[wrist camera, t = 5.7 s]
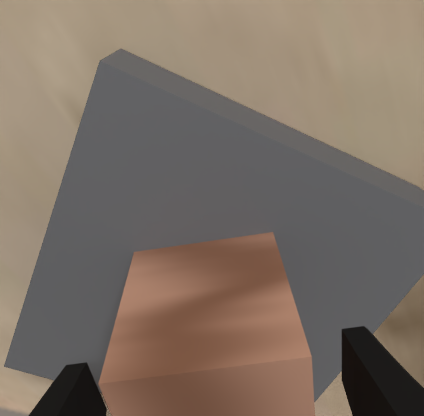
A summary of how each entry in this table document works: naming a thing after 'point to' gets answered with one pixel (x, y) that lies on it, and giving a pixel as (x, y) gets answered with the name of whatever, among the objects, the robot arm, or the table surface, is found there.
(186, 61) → the table surface
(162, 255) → the terracotta cube
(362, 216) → the charcoal plinth
